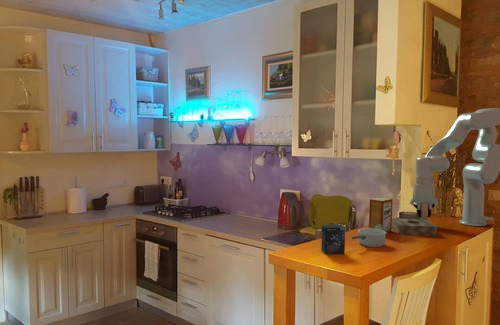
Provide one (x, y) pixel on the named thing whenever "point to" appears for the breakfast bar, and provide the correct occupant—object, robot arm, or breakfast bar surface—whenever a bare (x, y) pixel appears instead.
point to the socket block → (414, 227)
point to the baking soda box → (380, 212)
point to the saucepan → (371, 237)
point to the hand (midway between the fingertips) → (423, 216)
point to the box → (333, 239)
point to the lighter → (384, 226)
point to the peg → (424, 211)
